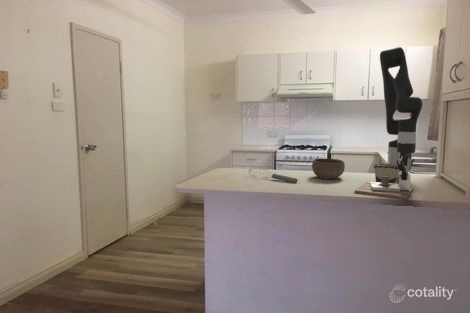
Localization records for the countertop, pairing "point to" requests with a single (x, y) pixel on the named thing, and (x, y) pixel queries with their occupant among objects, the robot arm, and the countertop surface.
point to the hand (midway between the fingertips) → (404, 180)
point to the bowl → (328, 168)
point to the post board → (385, 179)
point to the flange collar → (392, 185)
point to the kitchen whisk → (278, 177)
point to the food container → (386, 172)
